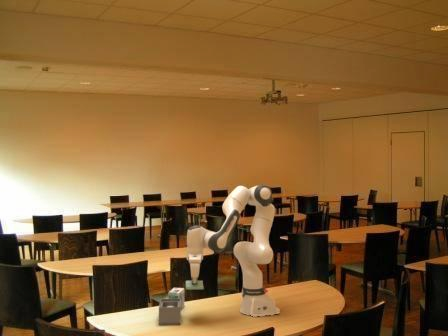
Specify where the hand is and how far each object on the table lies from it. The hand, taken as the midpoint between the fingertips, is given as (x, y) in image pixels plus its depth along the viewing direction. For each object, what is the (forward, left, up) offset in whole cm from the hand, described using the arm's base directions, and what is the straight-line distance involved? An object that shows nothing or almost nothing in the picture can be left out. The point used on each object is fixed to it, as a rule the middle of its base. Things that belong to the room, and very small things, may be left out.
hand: (194, 281), depth 243 cm
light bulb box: (+10, -19, -21) cm, 30 cm away
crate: (+13, 0, -20) cm, 24 cm away
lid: (0, 0, -2) cm, 2 cm away
